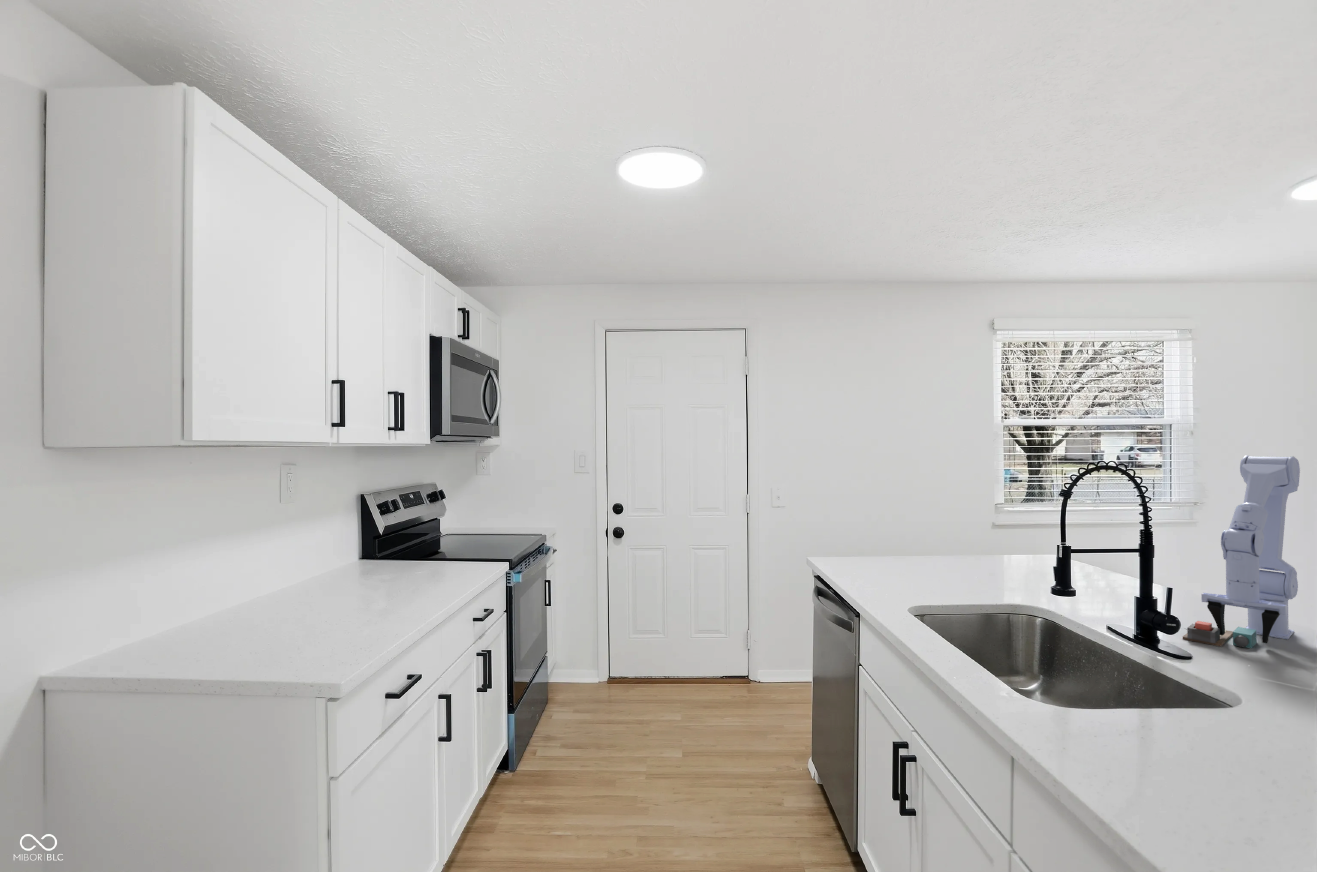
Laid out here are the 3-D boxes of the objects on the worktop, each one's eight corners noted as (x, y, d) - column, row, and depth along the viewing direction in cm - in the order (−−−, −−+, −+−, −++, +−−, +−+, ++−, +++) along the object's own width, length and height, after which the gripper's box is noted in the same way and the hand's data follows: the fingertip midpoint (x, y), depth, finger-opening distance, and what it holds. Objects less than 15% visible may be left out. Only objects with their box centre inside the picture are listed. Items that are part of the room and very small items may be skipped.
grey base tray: (1197, 627, 158) (1197, 615, 158) (1234, 633, 153) (1233, 621, 153) (1182, 639, 149) (1181, 626, 149) (1220, 646, 144) (1220, 633, 144)
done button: (1197, 630, 150) (1197, 620, 150) (1212, 633, 148) (1211, 623, 148) (1195, 632, 148) (1194, 622, 148) (1209, 635, 146) (1209, 625, 146)
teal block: (1238, 639, 149) (1238, 626, 149) (1256, 643, 147) (1256, 629, 147) (1231, 646, 145) (1231, 633, 145) (1250, 650, 142) (1250, 636, 142)
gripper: (1197, 577, 149) (1198, 634, 149) (1283, 588, 137) (1283, 650, 137) (1205, 573, 153) (1205, 628, 153) (1288, 583, 142) (1289, 643, 142)
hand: (1243, 638), depth 146 cm, fingers open, 7 cm apart
